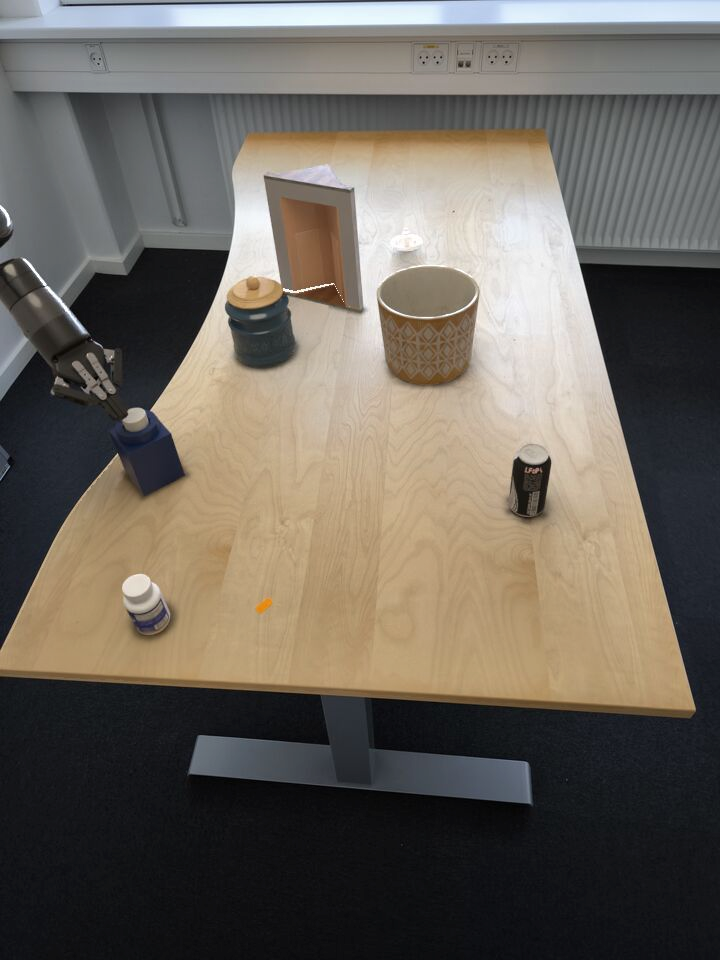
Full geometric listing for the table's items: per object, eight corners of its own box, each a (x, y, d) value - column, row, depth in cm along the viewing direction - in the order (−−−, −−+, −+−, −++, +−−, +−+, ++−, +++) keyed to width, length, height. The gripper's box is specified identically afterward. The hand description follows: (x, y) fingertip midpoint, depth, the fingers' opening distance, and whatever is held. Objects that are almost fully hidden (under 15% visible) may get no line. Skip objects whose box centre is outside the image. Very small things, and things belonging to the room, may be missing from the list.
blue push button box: (144, 496, 127) (123, 445, 119) (125, 472, 132) (104, 421, 123) (185, 475, 130) (168, 424, 122) (165, 452, 135) (147, 401, 126)
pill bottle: (133, 612, 110) (115, 575, 103) (168, 601, 110) (152, 565, 104) (137, 640, 106) (118, 604, 100) (173, 629, 107) (157, 593, 101)
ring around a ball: (394, 259, 180) (425, 254, 181) (393, 237, 176) (425, 232, 177) (387, 245, 186) (418, 240, 187) (386, 223, 182) (417, 219, 183)
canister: (224, 364, 154) (206, 289, 141) (252, 330, 162) (237, 257, 150) (280, 374, 150) (267, 298, 137) (306, 339, 158) (295, 264, 146)
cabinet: (282, 294, 172) (263, 175, 153) (304, 274, 178) (288, 157, 158) (360, 312, 164) (350, 189, 144) (380, 292, 170) (373, 170, 150)
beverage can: (523, 489, 122) (530, 435, 114) (551, 506, 119) (560, 452, 110) (501, 507, 120) (506, 453, 111) (529, 525, 116) (536, 471, 108)
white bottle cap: (130, 435, 121) (127, 426, 119) (121, 423, 123) (117, 414, 122) (152, 425, 122) (149, 415, 121) (142, 413, 125) (139, 404, 123)
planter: (491, 378, 144) (496, 304, 132) (398, 401, 141) (395, 327, 129) (454, 327, 157) (456, 256, 146) (368, 347, 154) (363, 276, 143)
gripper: (14, 337, 103) (93, 435, 106) (91, 295, 110) (163, 389, 113) (8, 355, 110) (83, 448, 112) (81, 315, 117) (150, 403, 119)
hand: (123, 418), depth 113 cm, fingers closed
